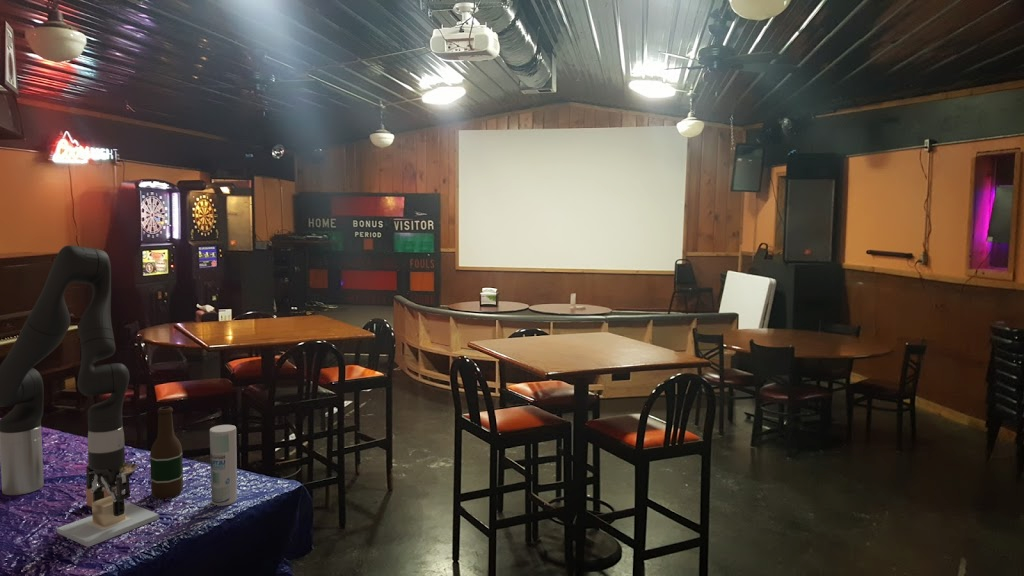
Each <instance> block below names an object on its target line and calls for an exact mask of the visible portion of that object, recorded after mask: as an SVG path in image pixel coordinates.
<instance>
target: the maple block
mask: <svg viewBox="0 0 1024 576" xmlns="http://www.w3.org/2000/svg"><path fill="white" fill-rule="evenodd" d="M125 503H126V499H124V514H122V515H119V516H114V514H113V499H112V496H109V497H106V498H103V499H100V500H97V501H94V502H92V507H91V511H92V512H91V513H92V514H91V516H92V518H93V522H94V523H96V524H98V525H101V526H103V527H106V526H109V525H112V524H114V523H117V522H119V521H122V520H125Z"/></svg>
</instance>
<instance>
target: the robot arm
mask: <svg viewBox="0 0 1024 576" xmlns="http://www.w3.org/2000/svg"><path fill="white" fill-rule="evenodd" d="M71 283H77V284H82V285H83V284H85V285H90V286H91V290H92V297H91V300H90V301H89V304H88V306H87V307H86V309H85V311H84V312H83V314H82V316H81V317H80V320H79V323H78V336H79V344H80V350H81V361H80V367H79V372H78V376H77V383H76V385H77V389H78V391H79V392H80V393H81V394H82V395H84V396H85V397H94V396H95V397H96V396H100V395H101V396H102V395H109V394H110V395H109V397H108V398H107V399H106V400H103V401H100V402H98V403H95V404H93V405H90V407H89V408H88V410H87V425H88V427H87V429H88V432H87V457H88V458H87V460H88V462H87V463H88V465H86V468H85V469H86V470H85V471H86V487H87V489H91V493H93V502H94V501H97V500H100V499H103V498H104V491H102V490H103V489H104V488H105V489H106V490H107V493H108V494H111V496H112V499H113V514H114V516H119V515H122V514H124V499H125V500H126V499H129V498H131V487H130V474H128V473H126V474H123V475H122V474H121V472H120V466H121V465H122V464H124V462H126V452H125V433H124V426H123V406H124V401H125V397H126V393H127V390H128V387H129V383H130V371H129V369H128V368H127V366H126V365H125V364H123V363H118V362H117V363H109V364H108V363H107V364H98V365H94V364H95V363H96V362H99V361H102V360H105V359H108V358H111V357H112V356H114V354H115V353H116V350H117V349H116V342H115V336H114V330H113V326H112V316H111V307H112V306H111V305H112V302H111V301H112V266H111V260H110V257H109V255H108V253H107V252H106V251H104V250H102V249H97V248H93V247H92V248H91V247H84V246H79V245H73V244H72V245H65V246H63V247H62V248H61V249H60V250H59V251H58V253H57V255H56V256H55V259H54V260H53V263H52V266H51V269H50V270H49V273H48V276H47V279H46V281H45V284H44V286H43V288H42V291H41V292H40V294H39V296H38V299H37V300H36V302H35V303H34V306H33V308H32V309H31V311H30V312H29V314H28V315H27V318H26V320H25V322H24V324H23V326H22V327H21V330H20V332H19V335H18V336H17V338H16V340H15V341H14V343H13V345H12V347H11V348H10V350H9V352H8V353H7V355H6V356H5V358H4V359H3V361H2V362H1V364H0V408H4V407H5V408H7V407H12V406H14V407H13V408H12V409H11V410H10V411H9V412H8V413H7V414H5V415H4V416H3V417H1V418H0V476H1V480H0V481H1V493H2V494H3V495H7V496H19V495H26V494H29V493H33V492H36V491H38V490H40V489H42V488H43V487H44V486H45V485H44V484H45V481H44V479H45V478H44V459H43V458H44V457H43V442H42V441H43V439H42V437H43V436H42V423H41V422H42V418H43V416H44V391H45V390H44V389H45V388H44V381H43V377H42V375H41V374H40V372H39V370H37V369H35V368H34V367H35V366H36V365H37V364H39V363H40V362H41V361H42V360H44V359H45V358H46V357H47V356H49V355H50V354H51V353H53V351H54V350H56V349H57V347H59V345H60V344H61V342H62V341H63V340H64V338H65V336H66V334H67V332H68V330H69V328H70V327H71V315H70V312H69V309H68V306H67V303H66V300H65V292H66V290H67V288H68V286H69V284H71ZM92 479H94V480H93V481H92ZM113 487H116V488H113ZM115 492H117V496H116V493H115Z"/></svg>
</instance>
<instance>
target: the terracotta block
mask: <svg viewBox="0 0 1024 576" xmlns="http://www.w3.org/2000/svg"><path fill="white" fill-rule="evenodd" d="M113 488H116V487H113ZM102 491H104V498H106V497H109V496H111V494H108V493H107V490H106V489H105V488H104V489H103V490H102ZM115 493H116V496H117V492H115ZM85 495H86V506H88V507H91V508H92V502H93V493H91V489H87V486H86V487H85Z"/></svg>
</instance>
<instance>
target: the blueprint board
mask: <svg viewBox="0 0 1024 576" xmlns="http://www.w3.org/2000/svg"><path fill="white" fill-rule="evenodd" d="M159 519H160V514H158V513H156V512H154V511H151V510H150V509H147V508H144V507H141V506H138V505H136V504H133V503H130V502H125V520H122V521H119V522H117V523H114V524H112V525H109V526H106V527H103V526H101V525H98V524H96V523H94V522H93V518H92V515H88V516H87V517H84V518H82V519H81V518H80V519H79V520H76V521H72V522H70V523H67V524H65V525H62V526H58V527H57V528H56V533H57V534H58V535H61V536H63V537H65V538H67V539H69V540H72V541H74V542H76V543H78V544H80V545H82V546H85V547H86V548H90V547H92V546H95V545H97V544H99V543H102V542H105V541H108V540H109V539H112V538H115V537H117V536H119V535H123V534H125V533H127V532H130V531H132V530H134V529H137V528H139V527H142V526H146V525H147V524H149V523H152V522H155V521H157V520H159Z"/></svg>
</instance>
